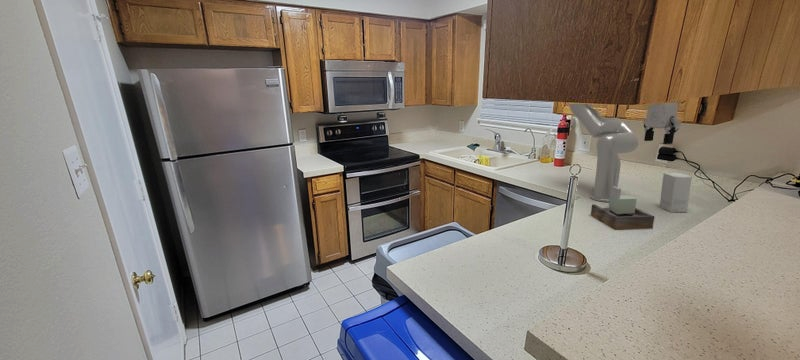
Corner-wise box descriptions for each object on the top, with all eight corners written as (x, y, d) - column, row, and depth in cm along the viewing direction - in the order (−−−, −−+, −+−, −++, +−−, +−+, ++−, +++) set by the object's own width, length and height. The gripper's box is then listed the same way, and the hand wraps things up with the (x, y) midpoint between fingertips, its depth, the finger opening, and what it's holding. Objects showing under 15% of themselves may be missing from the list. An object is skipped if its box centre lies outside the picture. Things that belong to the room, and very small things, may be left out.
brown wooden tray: (590, 215, 136) (591, 204, 135) (623, 213, 136) (625, 203, 135) (615, 229, 120) (617, 217, 119) (652, 228, 120) (654, 216, 119)
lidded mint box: (608, 212, 130) (611, 185, 127) (625, 211, 130) (629, 185, 127) (616, 216, 125) (619, 189, 122) (634, 216, 125) (638, 188, 122)
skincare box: (686, 212, 134) (693, 176, 130) (668, 212, 135) (675, 176, 132) (674, 206, 142) (680, 172, 138) (657, 206, 143) (663, 172, 140)
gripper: (638, 98, 132) (632, 140, 136) (673, 98, 115) (665, 145, 119) (656, 98, 132) (650, 139, 136) (694, 97, 115) (686, 144, 119)
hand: (657, 142), depth 128 cm, fingers open, 9 cm apart
